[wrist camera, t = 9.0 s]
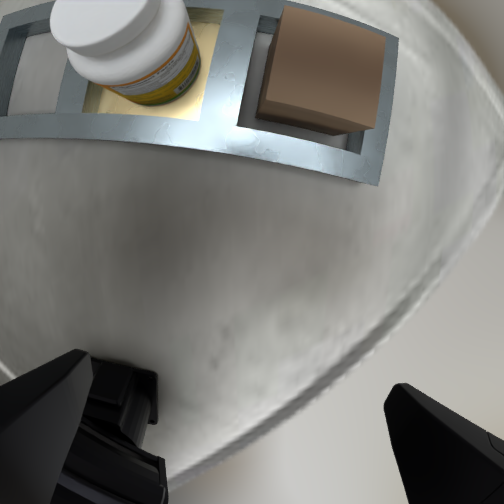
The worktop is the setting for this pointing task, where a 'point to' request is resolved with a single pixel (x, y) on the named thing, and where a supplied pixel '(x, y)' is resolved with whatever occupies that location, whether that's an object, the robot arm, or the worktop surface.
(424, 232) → the worktop surface
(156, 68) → the supplement bottle
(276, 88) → the walnut block
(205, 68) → the rail
